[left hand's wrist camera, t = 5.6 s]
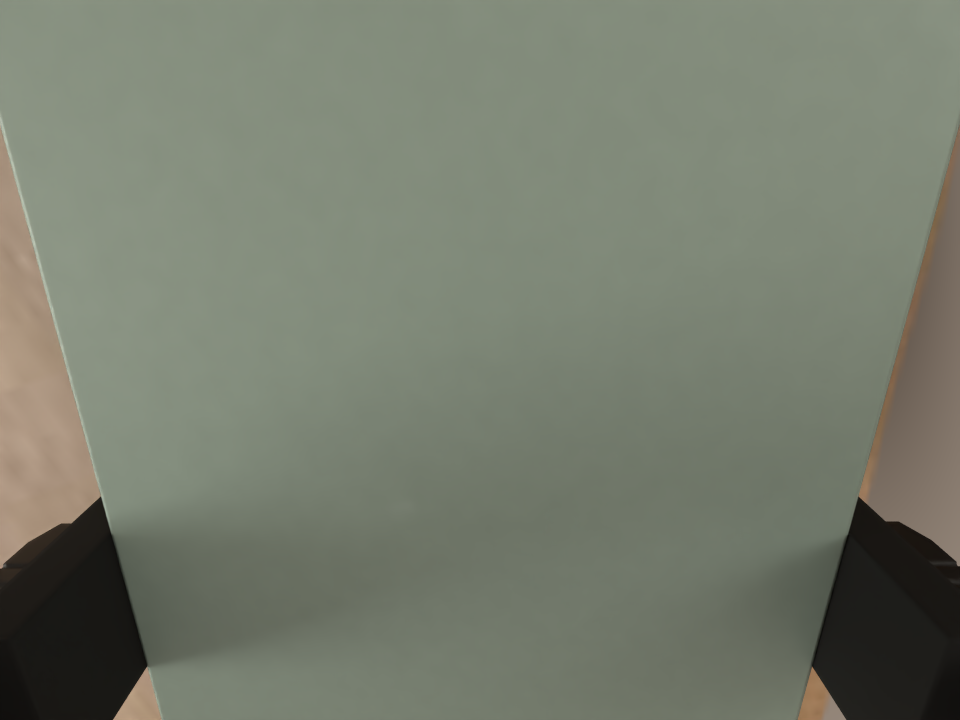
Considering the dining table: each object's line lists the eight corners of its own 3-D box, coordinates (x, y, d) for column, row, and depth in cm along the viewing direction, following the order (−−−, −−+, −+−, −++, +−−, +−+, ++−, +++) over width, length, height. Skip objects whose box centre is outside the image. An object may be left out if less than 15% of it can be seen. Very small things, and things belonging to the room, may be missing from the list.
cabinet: (195, -333, 11) (-412, -1362, 4) (765, -335, 11) (1374, -1367, 4) (301, 495, 18) (168, 753, 10) (658, 495, 18) (790, 753, 10)
